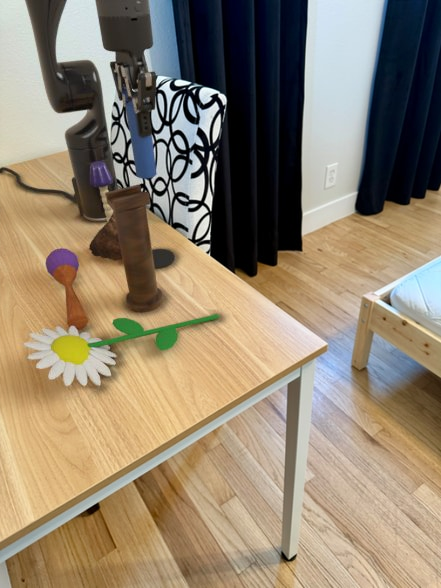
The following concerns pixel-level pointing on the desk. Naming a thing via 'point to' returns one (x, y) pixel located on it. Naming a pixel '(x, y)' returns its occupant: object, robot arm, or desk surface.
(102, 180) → the toy lamp
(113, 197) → the post
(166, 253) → the coaster
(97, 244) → the decorative rock
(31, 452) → the desk surface
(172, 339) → the decorative flower
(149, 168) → the tube
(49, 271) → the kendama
